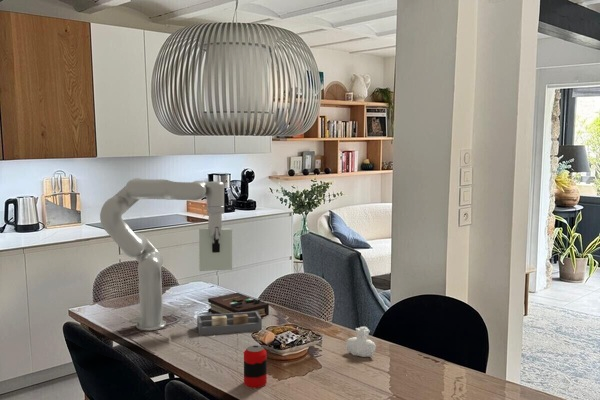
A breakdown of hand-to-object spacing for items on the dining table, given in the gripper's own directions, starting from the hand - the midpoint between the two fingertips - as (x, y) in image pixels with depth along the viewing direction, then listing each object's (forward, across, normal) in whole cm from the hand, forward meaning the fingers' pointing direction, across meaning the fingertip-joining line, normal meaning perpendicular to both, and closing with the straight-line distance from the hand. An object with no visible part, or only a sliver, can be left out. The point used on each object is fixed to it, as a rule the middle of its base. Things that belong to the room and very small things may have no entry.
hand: (215, 251), depth 247 cm
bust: (+32, +50, +50) cm, 77 cm away
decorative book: (+33, -11, +12) cm, 37 cm away
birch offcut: (+31, +14, 0) cm, 34 cm away
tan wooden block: (+31, +14, +9) cm, 35 cm away
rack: (+32, +11, +4) cm, 35 cm away
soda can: (+32, +66, +6) cm, 74 cm away
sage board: (+8, 0, 0) cm, 8 cm away
